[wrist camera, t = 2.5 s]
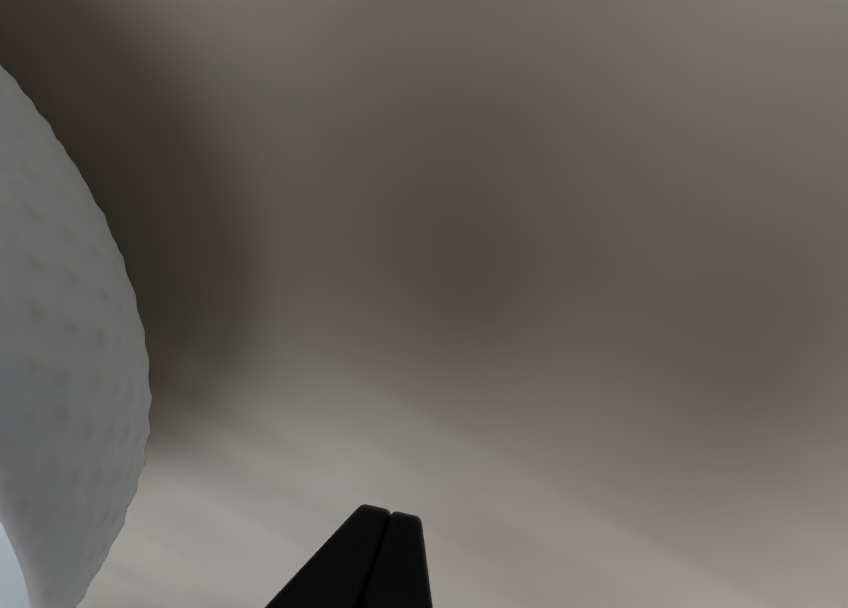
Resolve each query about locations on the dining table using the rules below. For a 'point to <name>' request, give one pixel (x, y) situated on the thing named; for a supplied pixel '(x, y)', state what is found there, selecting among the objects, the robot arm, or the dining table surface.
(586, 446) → the dining table surface
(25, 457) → the cereal bowl
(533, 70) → the dining table surface
